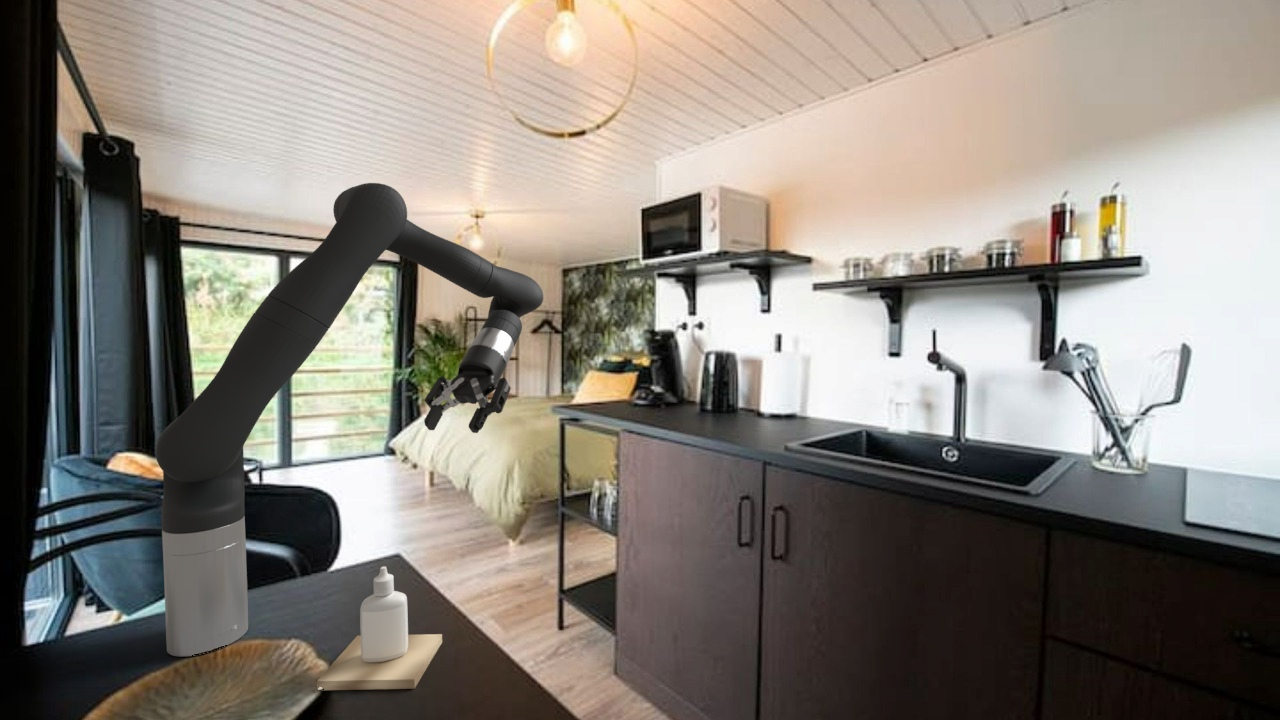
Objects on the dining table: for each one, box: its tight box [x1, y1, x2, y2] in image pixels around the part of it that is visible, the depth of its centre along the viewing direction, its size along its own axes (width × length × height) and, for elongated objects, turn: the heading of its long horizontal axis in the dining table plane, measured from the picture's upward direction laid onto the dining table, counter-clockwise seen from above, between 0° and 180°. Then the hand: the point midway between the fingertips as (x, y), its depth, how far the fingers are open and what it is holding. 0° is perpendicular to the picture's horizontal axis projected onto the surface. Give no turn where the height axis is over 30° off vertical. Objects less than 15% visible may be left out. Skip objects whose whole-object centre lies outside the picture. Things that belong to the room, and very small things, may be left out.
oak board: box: [316, 633, 443, 691], centre depth 71 cm, size 12×10×1 cm
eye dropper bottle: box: [359, 566, 409, 662], centre depth 71 cm, size 4×6×12 cm
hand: (450, 428), depth 88 cm, fingers open, 8 cm apart
